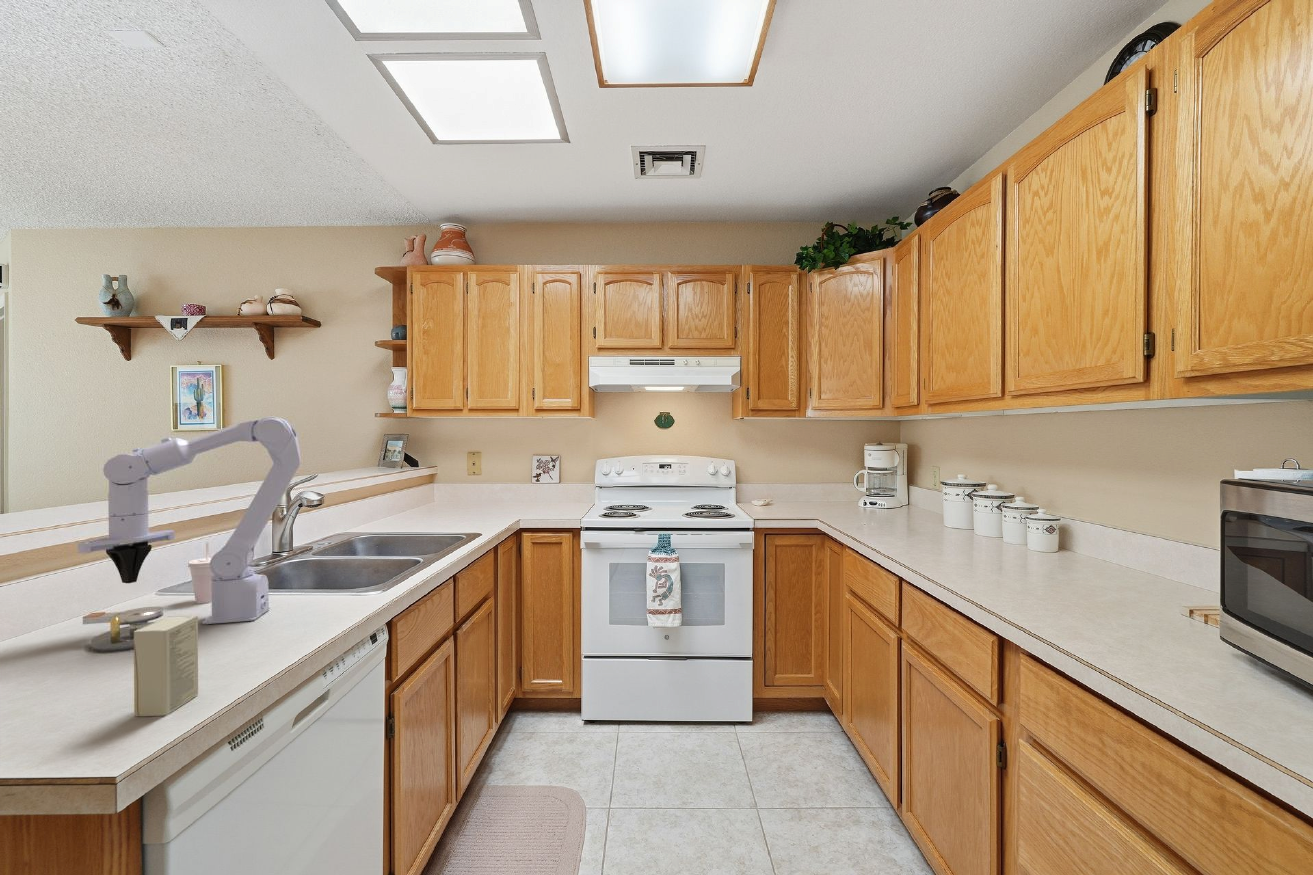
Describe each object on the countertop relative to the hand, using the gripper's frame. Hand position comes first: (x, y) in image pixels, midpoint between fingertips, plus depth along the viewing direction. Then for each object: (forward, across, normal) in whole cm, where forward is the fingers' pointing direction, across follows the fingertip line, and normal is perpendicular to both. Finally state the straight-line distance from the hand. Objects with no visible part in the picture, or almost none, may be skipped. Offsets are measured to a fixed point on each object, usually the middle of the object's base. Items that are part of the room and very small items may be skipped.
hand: (129, 582), depth 108 cm
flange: (+6, +3, +5) cm, 8 cm away
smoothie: (+10, -18, -7) cm, 22 cm away
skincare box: (+10, +17, +43) cm, 47 cm away
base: (+10, +2, +7) cm, 12 cm away
